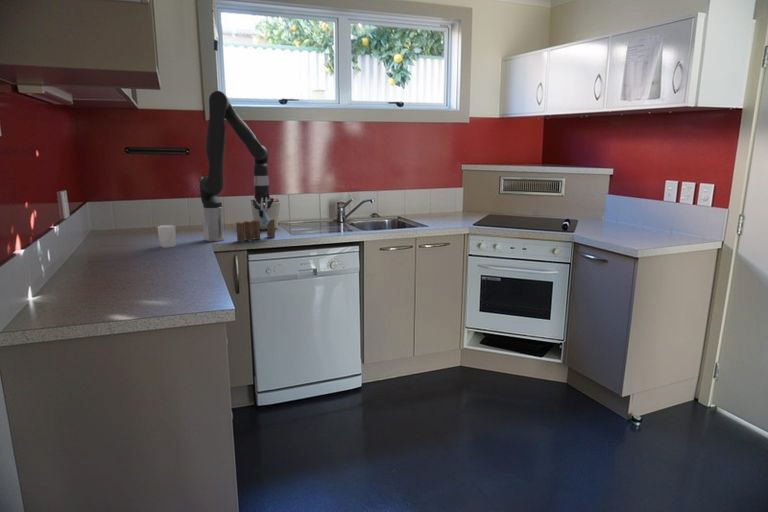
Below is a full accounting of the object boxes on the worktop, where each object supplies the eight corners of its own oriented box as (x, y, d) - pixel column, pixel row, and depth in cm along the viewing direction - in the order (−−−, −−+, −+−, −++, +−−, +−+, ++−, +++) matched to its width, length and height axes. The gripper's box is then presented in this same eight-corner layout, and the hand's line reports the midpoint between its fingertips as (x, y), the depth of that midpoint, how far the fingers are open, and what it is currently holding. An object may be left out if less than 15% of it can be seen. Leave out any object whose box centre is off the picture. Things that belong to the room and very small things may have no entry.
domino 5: (272, 238, 276) (271, 219, 273) (267, 236, 279) (266, 218, 277) (274, 237, 277) (274, 219, 275) (269, 236, 280) (269, 218, 278)
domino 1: (242, 242, 263) (241, 223, 261) (237, 240, 267) (236, 221, 265) (245, 241, 264) (244, 222, 262) (240, 240, 268) (239, 221, 266)
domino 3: (257, 240, 269) (256, 221, 267) (252, 238, 273) (251, 220, 271) (260, 239, 270) (259, 221, 268) (255, 238, 274) (254, 219, 272)
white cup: (172, 244, 256) (171, 224, 254) (179, 246, 251) (177, 226, 249) (156, 246, 251) (154, 226, 249) (163, 248, 246) (161, 228, 243)
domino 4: (267, 220, 269) (260, 204, 271) (263, 225, 272) (256, 210, 275) (270, 220, 270) (263, 204, 272) (266, 225, 273) (259, 209, 276)
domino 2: (250, 241, 266) (249, 222, 264) (245, 239, 270) (244, 221, 268) (252, 240, 267) (251, 221, 265) (247, 239, 271) (246, 220, 269)
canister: (252, 231, 295) (250, 195, 291) (249, 227, 312) (247, 192, 307) (283, 230, 301) (282, 194, 296) (279, 225, 317) (278, 191, 313)
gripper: (268, 183, 276) (270, 215, 280) (246, 184, 267) (248, 217, 270) (276, 184, 271) (277, 216, 275) (253, 185, 262) (255, 219, 265)
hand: (263, 217), depth 273 cm, fingers closed on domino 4, 1 cm apart
